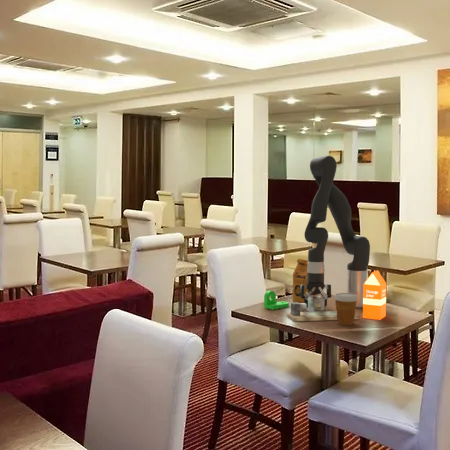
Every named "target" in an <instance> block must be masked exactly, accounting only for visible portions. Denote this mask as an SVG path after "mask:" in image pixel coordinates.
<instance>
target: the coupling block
mask: <svg viewBox="0 0 450 450" xmlns="http://www.w3.org/2000/svg"><path fill="white" fill-rule="evenodd" d="M307 300H308V308H307V310H306V312H320V311H325V308H326V307H325V299H324V298H323V297H322V296H320V295H319V294H318V295H310V296H309V298H308V299H307Z"/></svg>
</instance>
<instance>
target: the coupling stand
mask: <svg viewBox="0 0 450 450" xmlns="http://www.w3.org/2000/svg"><path fill="white" fill-rule="evenodd" d="M285 317H286V318H288V319H290V320H292V322H313V321H338V320H337V311H336V310H329V311H328V310H326V311H325V310H324V311H320V312H309V311H307V304H305V303H298V302H293V301H292V302H290V312H289V311H287V312H286V313H285ZM354 320H360V315H358V314H356V313H355V316H354Z"/></svg>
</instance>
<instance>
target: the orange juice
mask: <svg viewBox="0 0 450 450" xmlns="http://www.w3.org/2000/svg"><path fill="white" fill-rule="evenodd" d="M386 311H387V282H386V281H385V279H384V278H383V276H382V275H381V273H380V271H379V270H375V271H372V272H371V274H370V275H369V277H367V280H366V282H365V283H364V285H363V307H362V318H364V319H371V320H380V321H381V320H382V319H384V318H385V317H386V316H387V315H386V313H387V312H386Z"/></svg>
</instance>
